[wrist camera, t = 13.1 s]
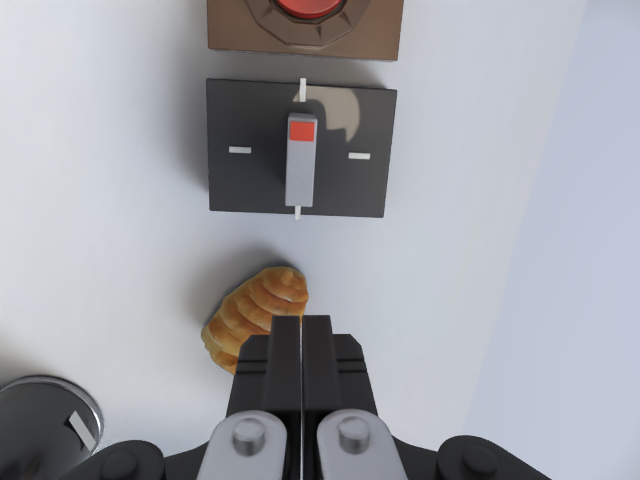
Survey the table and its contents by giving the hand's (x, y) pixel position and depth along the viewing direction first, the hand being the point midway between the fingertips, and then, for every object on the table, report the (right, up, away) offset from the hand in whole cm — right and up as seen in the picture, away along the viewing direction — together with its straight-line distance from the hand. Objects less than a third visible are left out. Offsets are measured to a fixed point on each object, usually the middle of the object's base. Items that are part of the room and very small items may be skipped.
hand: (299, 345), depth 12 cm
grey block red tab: (-1, +8, +17) cm, 19 cm away
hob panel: (-1, +9, +20) cm, 22 cm away
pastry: (-5, -3, +25) cm, 25 cm away
